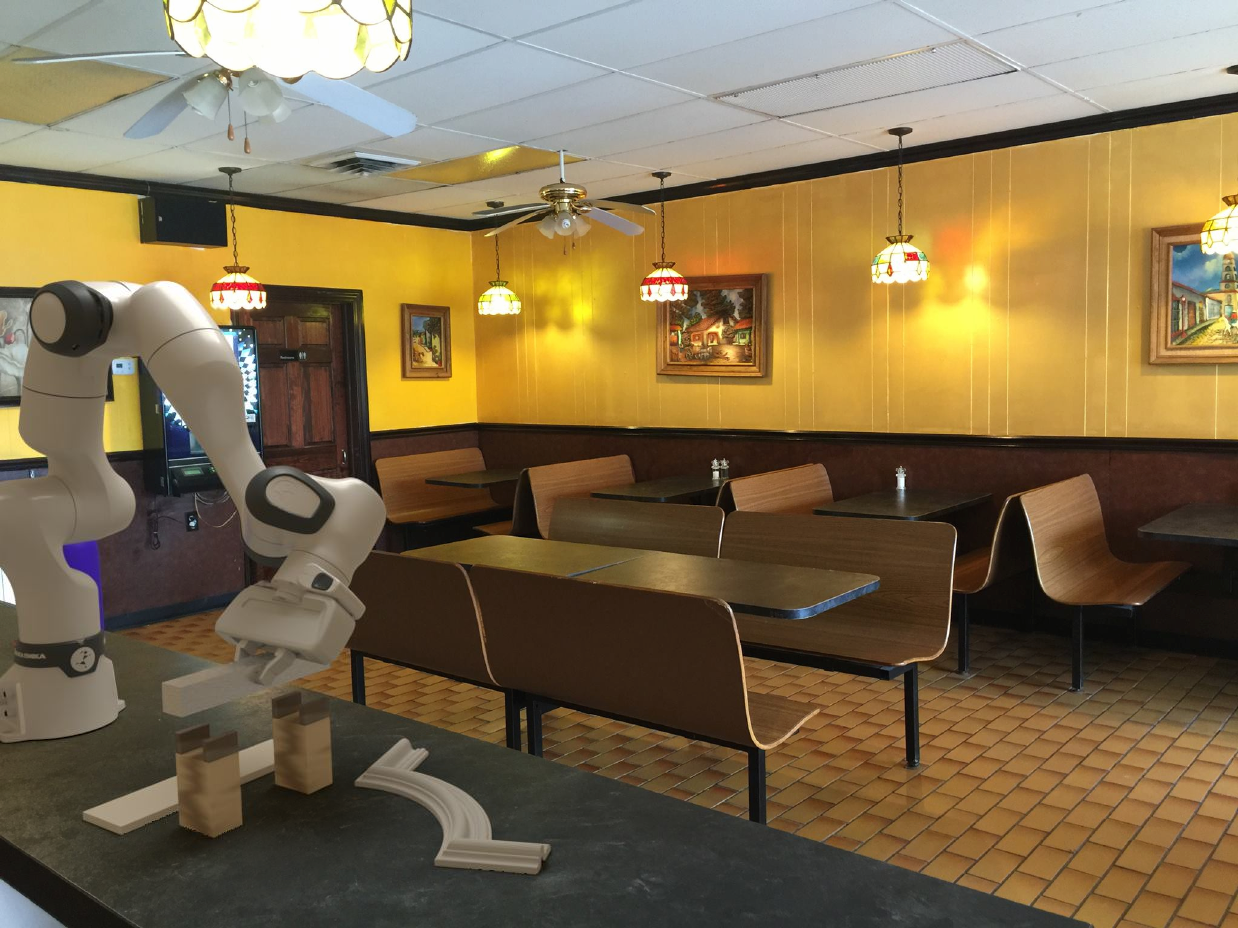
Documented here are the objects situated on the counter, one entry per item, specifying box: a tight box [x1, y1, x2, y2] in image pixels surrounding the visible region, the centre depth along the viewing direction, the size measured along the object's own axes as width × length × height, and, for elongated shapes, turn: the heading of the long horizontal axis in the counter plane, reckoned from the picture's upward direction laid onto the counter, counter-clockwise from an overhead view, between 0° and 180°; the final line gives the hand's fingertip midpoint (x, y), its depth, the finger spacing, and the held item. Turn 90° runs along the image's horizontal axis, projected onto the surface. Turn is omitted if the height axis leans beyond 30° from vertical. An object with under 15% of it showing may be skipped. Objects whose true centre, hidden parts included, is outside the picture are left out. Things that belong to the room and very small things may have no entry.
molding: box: [354, 738, 551, 875], centre depth 123 cm, size 42×12×3 cm, turn 34°
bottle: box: [63, 540, 106, 638], centre depth 193 cm, size 8×8×30 cm
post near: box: [174, 722, 243, 839], centre depth 119 cm, size 6×4×12 cm, turn 58°
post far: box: [271, 690, 333, 795], centre depth 131 cm, size 6×4×12 cm, turn 58°
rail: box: [161, 651, 331, 718], centre depth 124 cm, size 4×22×4 cm, turn 148°
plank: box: [82, 738, 275, 836], centre depth 131 cm, size 8×28×1 cm, turn 148°
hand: (247, 680), depth 123 cm, fingers closed on rail, 3 cm apart
